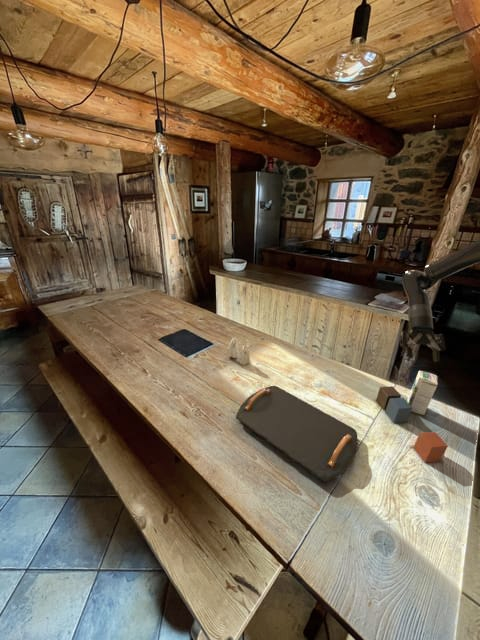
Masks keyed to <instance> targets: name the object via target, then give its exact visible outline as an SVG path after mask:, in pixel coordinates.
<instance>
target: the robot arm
mask: <svg viewBox="0 0 480 640" xmlns="http://www.w3.org/2000/svg"><path fill="white" fill-rule="evenodd" d="M479 263H480V238H479V239H477V240H475V241H474V242H472V243H471V244H469V245H468V246H465V247H464V248H462V249H458V250H455V251H453V252H450V253H448V254H445V255H444V256H441V257H439V258H437V259H436V260H434V261H432V262H430V263H429V264H427V265H426V266H425V269H424V271H420V270H417V269H409V270H407V271H405V273H404V274H403V277H402V281H401V283H402V286H403V290H404V292H405V295H406V297H407V301H408V312H407V313H408V316H407V318H408V330H409V331H407V330H406V329H404V330H402V331H400V332H399V347H400V348H404V349H405V356H406V358H407V359H408V360H412V359H413V358H414V355H413V354H414V353H413V346H414V345H415V344H416V345H423V346H427V347H428V348H430V349H431V350H432V360H433V363H437V362H439V361H441V353H440V352H442V351H445V350H446V348H447V347H446V343H445V337H444V334H443V333H440V334H436V333H434V321H433V320H434V319H433V311H432V308H431V307H432V306H431V297H430V294H429V293H428V292H427V291H426V290H429V289H431V288H432V287H433V286H435V285H436V284H437V283H439V281H440V280H442V279H445V278H447V277H450V276H451V275H454V274H456V273H458V272H460V271H463V270H465V269H466V268H469V267H472V266H473V265H477V264H479ZM407 337H409V338H410V340H409V342H408V343H407Z"/></svg>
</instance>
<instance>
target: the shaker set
mask: <svg viewBox="0 0 480 640" xmlns="http://www.w3.org/2000/svg"><path fill="white" fill-rule="evenodd" d="M238 343H239V342H238V339H237V337H233V338H232V339H231V341H230V343H229V345H228V347H227V350H226V352H225V355H226V356H228V357H230V358H233V359H236V358H237V359H236V362H237V363H239V364H240V365H247V364H251V357H250V356H251V355H250V349H249V348H250V347H249V345H248V344H247V345H245V344H244V345H243V346H242V349H241V350H239V344H238ZM239 351H240V352H239Z"/></svg>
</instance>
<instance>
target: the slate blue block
mask: <svg viewBox="0 0 480 640" xmlns="http://www.w3.org/2000/svg"><path fill="white" fill-rule="evenodd" d="M411 410H412V407H411V406H410V404H409V403H408V402H407V399H405V398H404V397H400V398H390V399H389V402H388V405H387V408H386V410H384V411H385V412H384V413H385V414H386V415H387V416H388V418H389V419H390V420H391V421H392V423H393V424H395V423H397V424H398V423H407V422H408V420H409V418H410V416H411V413H412V411H411Z"/></svg>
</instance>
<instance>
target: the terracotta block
mask: <svg viewBox="0 0 480 640" xmlns="http://www.w3.org/2000/svg"><path fill="white" fill-rule="evenodd" d="M448 446H449V445H448V444H447V443H446V442H445V440H443V439H442V438H441V437H440V436H439V434H438V433H437V432H435V431H429V432H420V433H419V434H418V436H417V438H416V441H415V442H414V445H413V450H414V451H415V452H416V453H417V455H419V458H420V459H422V461H423V462H424V463H434V462H435V463H436V462H442V459H443V457H444V455H445V453H446V451H447V449H448Z"/></svg>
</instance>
